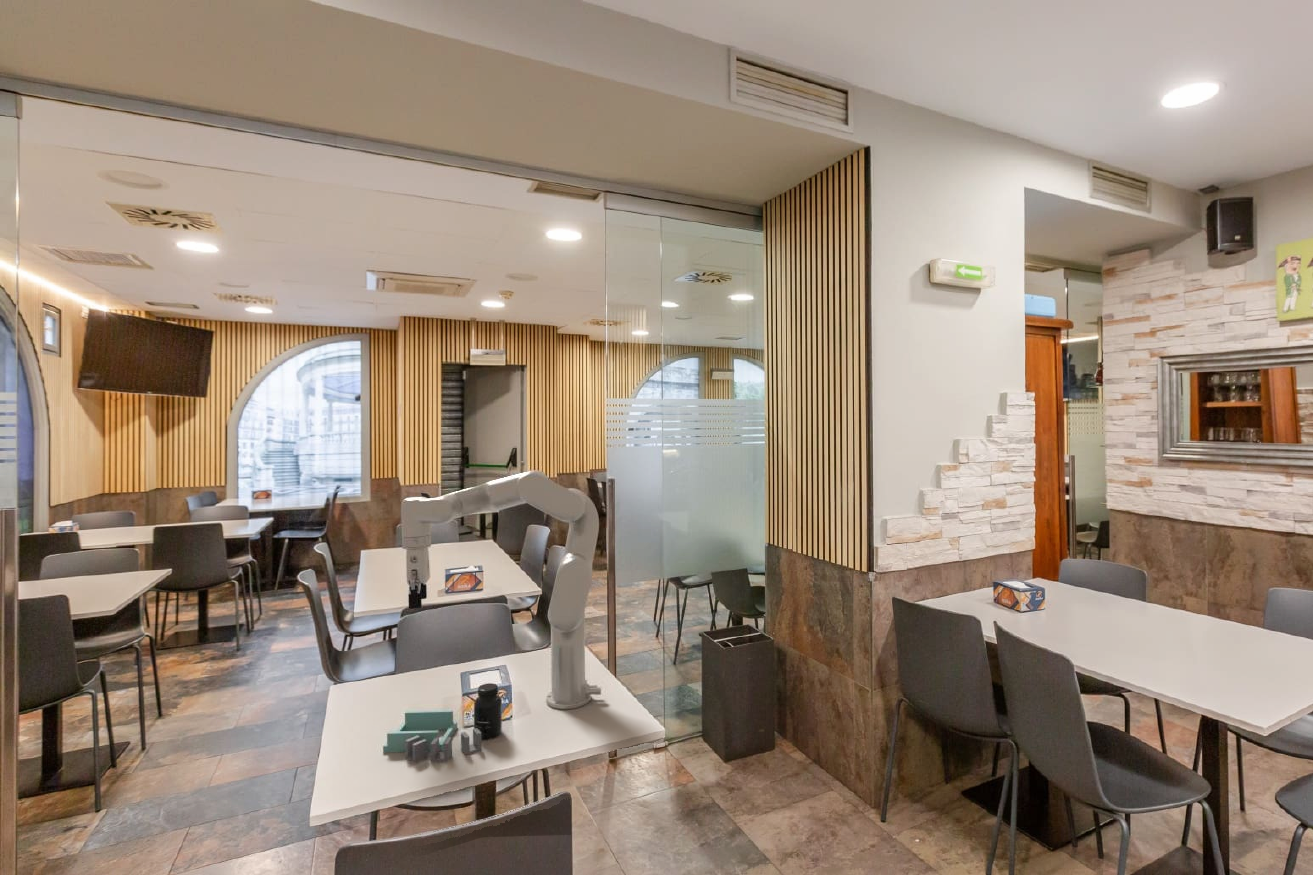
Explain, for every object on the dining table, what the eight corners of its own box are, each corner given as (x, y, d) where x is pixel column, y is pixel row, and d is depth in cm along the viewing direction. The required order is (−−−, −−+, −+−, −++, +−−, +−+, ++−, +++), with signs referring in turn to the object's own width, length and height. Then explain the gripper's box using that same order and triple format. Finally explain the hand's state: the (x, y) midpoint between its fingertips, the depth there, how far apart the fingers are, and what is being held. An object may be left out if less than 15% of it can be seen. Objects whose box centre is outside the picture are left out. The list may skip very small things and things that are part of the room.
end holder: (457, 727, 160) (456, 709, 160) (442, 751, 148) (441, 732, 148) (402, 728, 160) (402, 711, 160) (383, 752, 148) (382, 733, 148)
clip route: (484, 745, 150) (484, 727, 150) (475, 762, 143) (475, 743, 143) (414, 746, 150) (413, 729, 150) (401, 763, 142) (401, 745, 142)
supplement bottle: (477, 743, 151) (476, 694, 151) (471, 731, 158) (470, 684, 157) (505, 736, 155) (504, 688, 155) (498, 725, 161) (498, 679, 161)
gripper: (426, 546, 164) (427, 610, 164) (435, 536, 181) (436, 594, 181) (396, 548, 162) (397, 613, 162) (407, 537, 179) (409, 596, 179)
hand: (418, 603), depth 172 cm, fingers open, 9 cm apart
